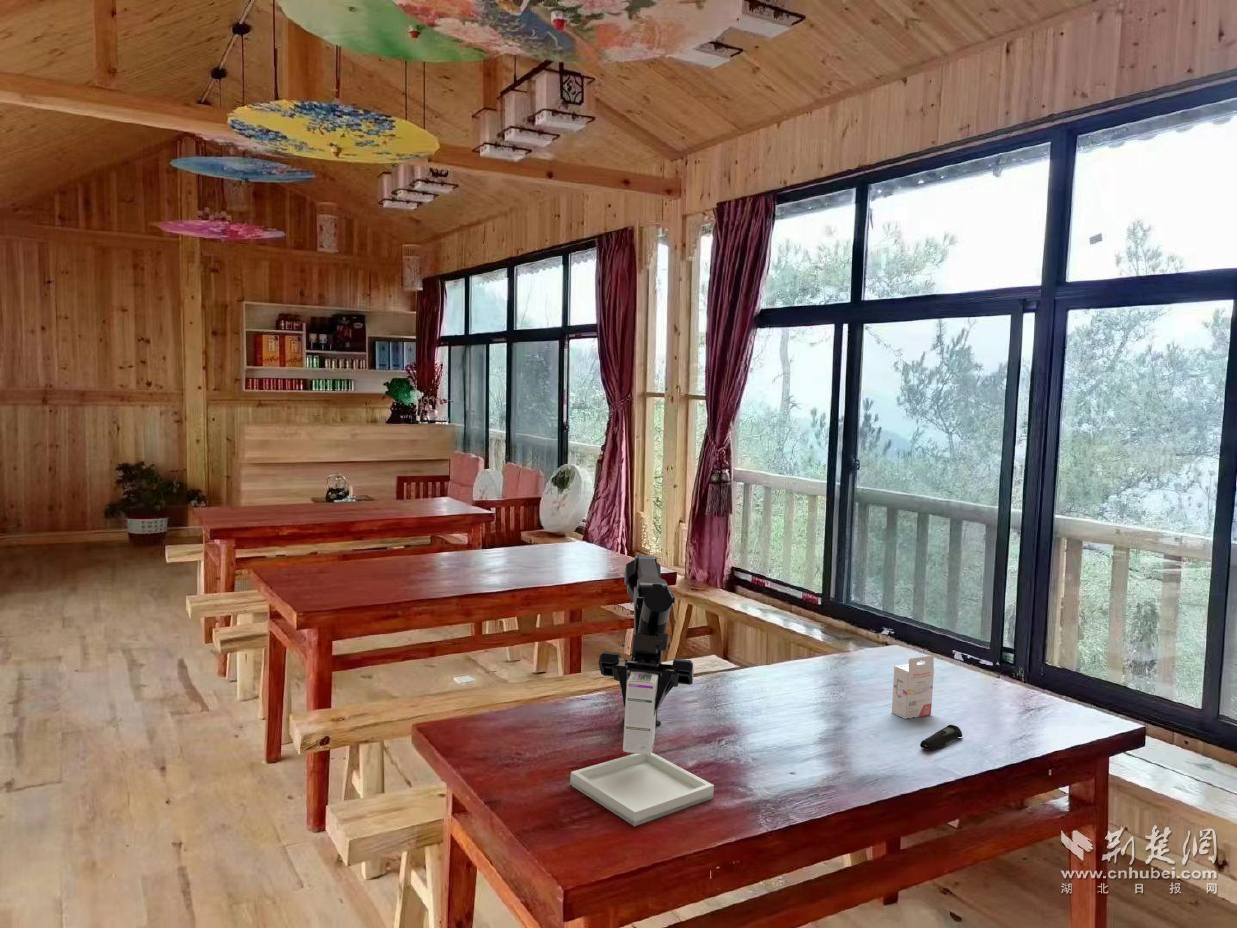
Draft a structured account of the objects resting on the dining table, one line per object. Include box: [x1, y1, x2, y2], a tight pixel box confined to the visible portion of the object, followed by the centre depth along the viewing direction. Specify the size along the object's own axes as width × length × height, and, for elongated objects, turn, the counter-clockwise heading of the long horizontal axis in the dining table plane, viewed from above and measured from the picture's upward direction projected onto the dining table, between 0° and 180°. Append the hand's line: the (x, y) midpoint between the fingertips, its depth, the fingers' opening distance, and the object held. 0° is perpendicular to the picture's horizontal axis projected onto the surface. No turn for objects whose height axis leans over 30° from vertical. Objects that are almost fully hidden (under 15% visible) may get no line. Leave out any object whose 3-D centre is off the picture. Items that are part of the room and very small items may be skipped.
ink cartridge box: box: [891, 655, 935, 720], centre depth 211 cm, size 9×5×15 cm, turn 117°
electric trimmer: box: [919, 724, 963, 751], centre depth 194 cm, size 4×16×3 cm, turn 134°
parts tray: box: [569, 752, 715, 827], centre depth 163 cm, size 19×19×2 cm
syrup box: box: [622, 672, 658, 755], centre depth 171 cm, size 6×6×14 cm
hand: (640, 707), depth 170 cm, fingers closed on syrup box, 6 cm apart
